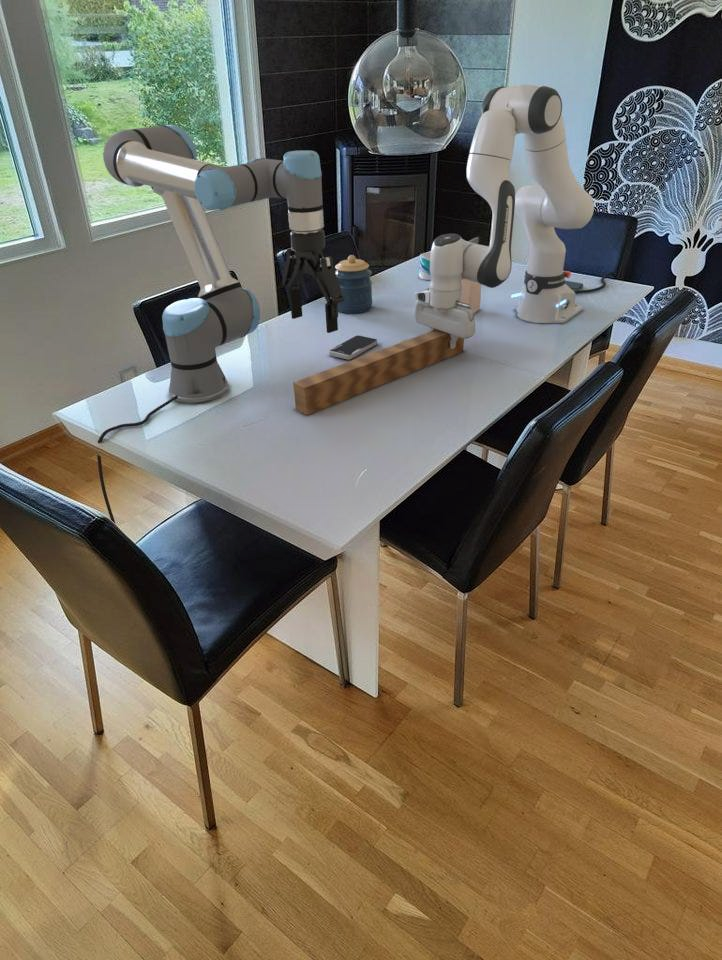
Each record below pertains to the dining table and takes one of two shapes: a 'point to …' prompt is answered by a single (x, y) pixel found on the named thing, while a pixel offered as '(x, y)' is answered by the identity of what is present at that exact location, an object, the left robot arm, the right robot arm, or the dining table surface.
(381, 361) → the post
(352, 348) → the smartphone
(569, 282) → the smartphone
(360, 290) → the canister
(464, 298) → the soap dispenser
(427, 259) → the mug
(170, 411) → the dining table surface
